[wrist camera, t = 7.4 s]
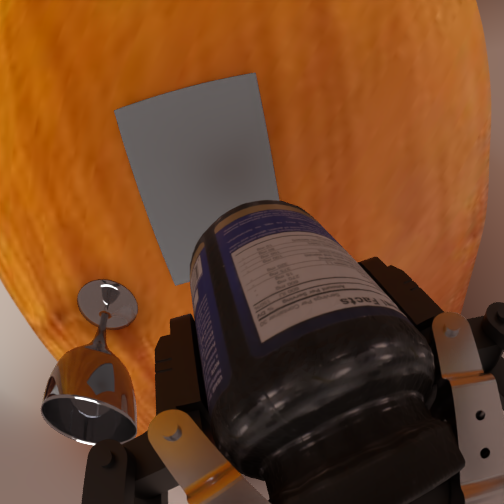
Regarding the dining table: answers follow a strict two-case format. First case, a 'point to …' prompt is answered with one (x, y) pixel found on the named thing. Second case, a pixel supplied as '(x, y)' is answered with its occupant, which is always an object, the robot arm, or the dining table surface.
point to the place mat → (197, 160)
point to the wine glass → (95, 374)
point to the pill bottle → (312, 366)
